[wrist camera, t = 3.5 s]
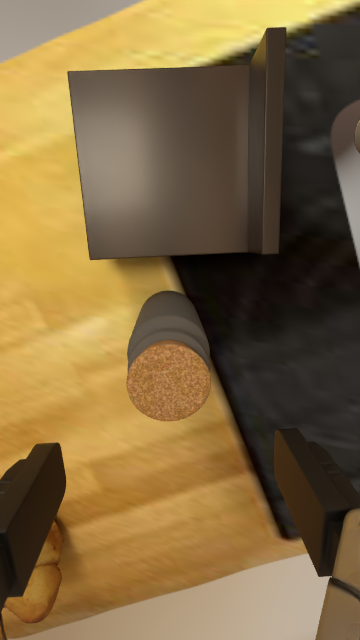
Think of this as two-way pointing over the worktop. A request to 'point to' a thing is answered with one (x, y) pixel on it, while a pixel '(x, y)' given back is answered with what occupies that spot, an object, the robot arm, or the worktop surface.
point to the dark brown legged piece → (182, 156)
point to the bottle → (168, 359)
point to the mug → (357, 136)
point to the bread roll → (41, 582)
